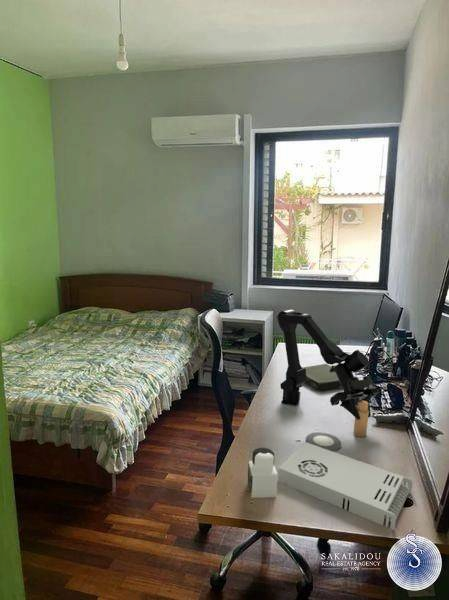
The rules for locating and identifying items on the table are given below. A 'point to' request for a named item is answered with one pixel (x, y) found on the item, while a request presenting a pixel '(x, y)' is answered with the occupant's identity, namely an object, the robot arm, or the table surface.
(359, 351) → the robot arm
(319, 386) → the network switch
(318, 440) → the charcoal pad
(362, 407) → the wooden bottle
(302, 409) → the table surface
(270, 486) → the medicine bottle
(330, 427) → the table surface
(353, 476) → the power supply unit
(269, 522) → the table surface
